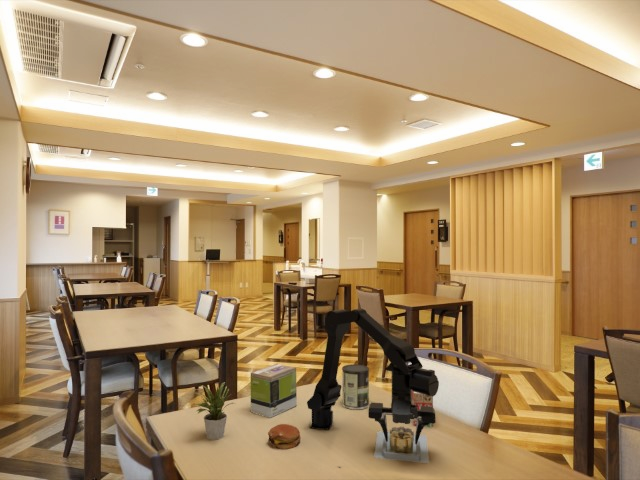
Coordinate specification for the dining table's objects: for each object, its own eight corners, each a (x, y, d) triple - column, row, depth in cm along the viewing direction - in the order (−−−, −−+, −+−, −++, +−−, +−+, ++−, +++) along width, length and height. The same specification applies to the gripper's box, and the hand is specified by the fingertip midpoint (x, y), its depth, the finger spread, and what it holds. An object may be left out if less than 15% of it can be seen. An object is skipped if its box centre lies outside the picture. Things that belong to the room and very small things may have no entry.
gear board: (373, 461, 121) (374, 452, 122) (377, 434, 139) (377, 426, 139) (429, 467, 119) (429, 457, 119) (426, 439, 136) (426, 430, 136)
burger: (297, 435, 139) (297, 420, 139) (302, 448, 130) (302, 432, 130) (266, 437, 137) (266, 422, 137) (268, 451, 128) (269, 435, 128)
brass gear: (389, 455, 123) (389, 437, 123) (390, 444, 129) (390, 427, 130) (413, 457, 122) (413, 439, 122) (412, 447, 128) (412, 429, 128)
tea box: (277, 400, 170) (277, 362, 170) (297, 406, 164) (297, 367, 164) (249, 412, 158) (250, 371, 158) (270, 418, 152) (270, 376, 152)
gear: (389, 443, 130) (389, 433, 131) (390, 433, 138) (390, 423, 138) (413, 445, 129) (413, 435, 129) (413, 435, 136) (413, 425, 136)
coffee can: (367, 400, 171) (367, 364, 171) (370, 410, 161) (370, 371, 161) (341, 400, 171) (341, 363, 172) (342, 409, 161) (342, 371, 161)
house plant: (199, 425, 146) (200, 376, 146) (240, 425, 145) (241, 376, 146) (185, 444, 132) (186, 389, 132) (230, 445, 131) (231, 390, 132)
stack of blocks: (410, 406, 165) (410, 374, 165) (427, 407, 164) (427, 375, 164) (413, 429, 144) (413, 392, 144) (433, 431, 143) (433, 393, 143)
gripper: (367, 394, 120) (366, 452, 119) (437, 399, 116) (436, 458, 116) (370, 382, 131) (369, 435, 130) (434, 386, 127) (434, 440, 127)
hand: (401, 442), depth 126 cm, fingers open, 8 cm apart
